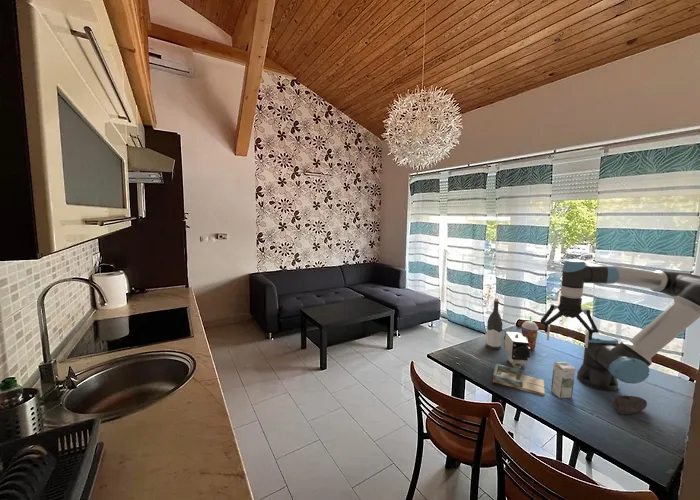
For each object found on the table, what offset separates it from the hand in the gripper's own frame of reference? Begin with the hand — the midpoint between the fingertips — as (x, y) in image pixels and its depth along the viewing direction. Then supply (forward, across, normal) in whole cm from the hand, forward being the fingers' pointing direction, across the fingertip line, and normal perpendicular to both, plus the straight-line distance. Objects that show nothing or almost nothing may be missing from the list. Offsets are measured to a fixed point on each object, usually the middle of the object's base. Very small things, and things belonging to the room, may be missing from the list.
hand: (566, 342), depth 131 cm
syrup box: (+25, 0, 0) cm, 25 cm away
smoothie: (+25, +14, -44) cm, 52 cm away
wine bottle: (+25, +32, -36) cm, 54 cm away
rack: (+24, +17, -1) cm, 30 cm away
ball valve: (+25, +19, -18) cm, 36 cm away
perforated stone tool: (+25, -23, -1) cm, 34 cm away
